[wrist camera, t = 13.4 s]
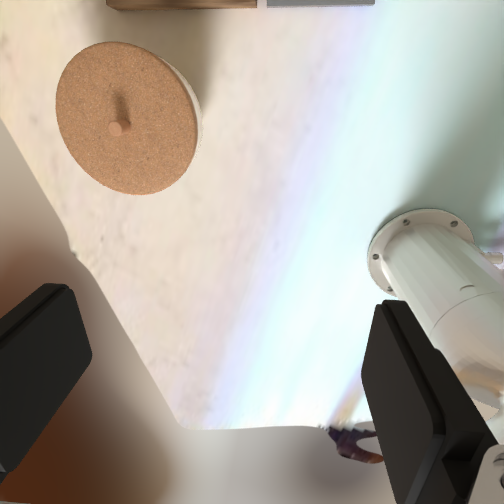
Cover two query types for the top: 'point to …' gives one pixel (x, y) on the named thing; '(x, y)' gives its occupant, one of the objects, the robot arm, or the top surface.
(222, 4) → the socket board
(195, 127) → the lidded bowl
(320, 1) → the coaster
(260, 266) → the top surface
